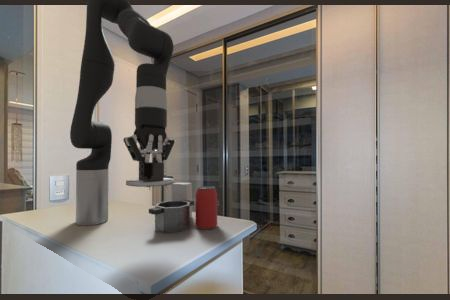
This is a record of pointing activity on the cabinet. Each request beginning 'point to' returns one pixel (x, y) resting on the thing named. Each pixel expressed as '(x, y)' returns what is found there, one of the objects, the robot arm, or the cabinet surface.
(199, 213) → the beer can
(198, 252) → the cabinet surface
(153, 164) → the lid
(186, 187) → the skincare box
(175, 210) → the pot
